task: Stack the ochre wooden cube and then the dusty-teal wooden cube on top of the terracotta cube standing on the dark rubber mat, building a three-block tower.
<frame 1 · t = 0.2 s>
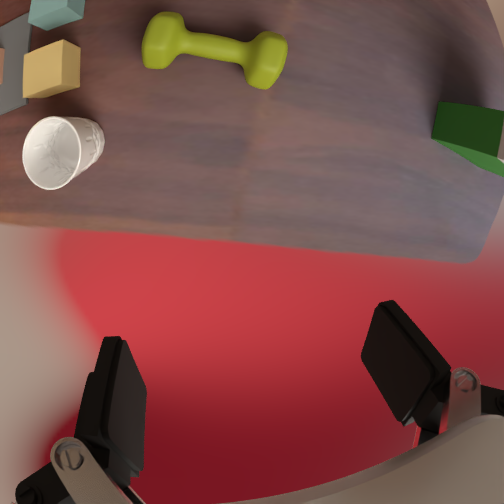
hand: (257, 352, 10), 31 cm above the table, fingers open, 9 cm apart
block ochre: (61, 72, 26), on the table
block teal: (66, 8, 21), on the table
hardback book: (461, 136, 40), on the table
dumbbell: (212, 53, 30), on the table
white cup: (83, 142, 31), on the table
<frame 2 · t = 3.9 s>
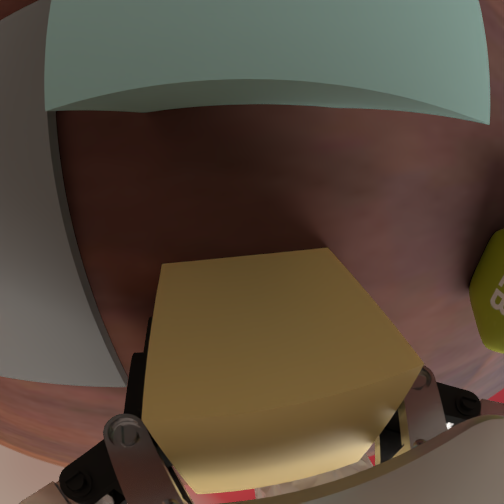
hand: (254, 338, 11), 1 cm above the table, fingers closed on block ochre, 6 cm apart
block ochre: (249, 321, 11), on the table, touching gripper
block teal: (242, 17, 6), on the table
white cup: (295, 427, 17), on the table
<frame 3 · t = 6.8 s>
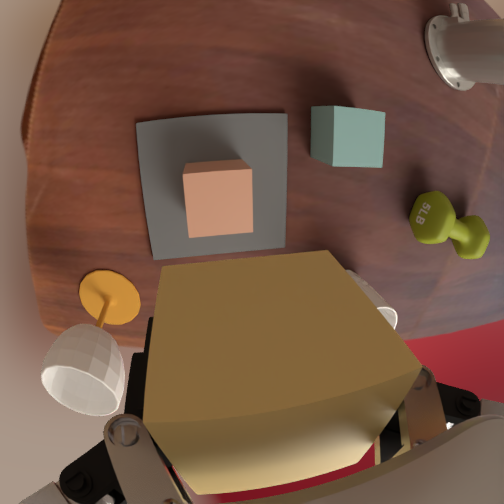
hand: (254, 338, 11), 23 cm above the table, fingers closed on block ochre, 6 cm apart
block ochre: (249, 323, 11), point 22 cm above the table, touching gripper
mat: (215, 186, 31), on the table
block teal: (334, 132, 30), on the table
wine glass: (109, 297, 35), on the table
dumbbell: (438, 219, 39), on the table
white cup: (339, 288, 41), on the table
block terracotta: (215, 187, 30), point 1 cm above the table, touching mat
when the fingers open (9 cm above the table, at t = 9.8 s): block ochre drops 1 cm, resting on block terracotta.
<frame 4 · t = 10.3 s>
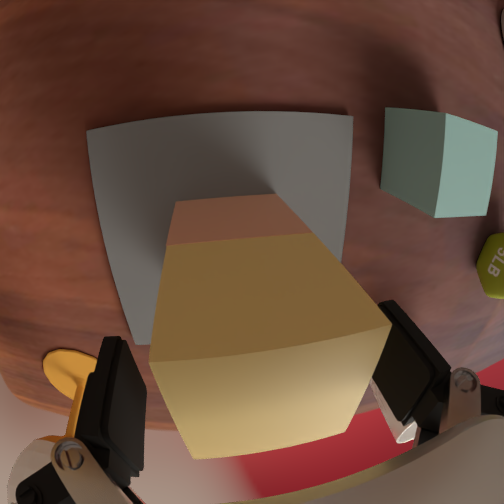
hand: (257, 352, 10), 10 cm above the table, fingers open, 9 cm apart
block ochre: (244, 299, 13), point 7 cm above the table, touching block terracotta
mat: (228, 239, 19), on the table
block teal: (413, 151, 18), on the table
wine glass: (83, 378, 23), on the table
dumbbell: (500, 259, 27), on the table
white cup: (387, 354, 29), on the table
block terracotta: (229, 243, 18), point 1 cm above the table, touching block ochre, mat
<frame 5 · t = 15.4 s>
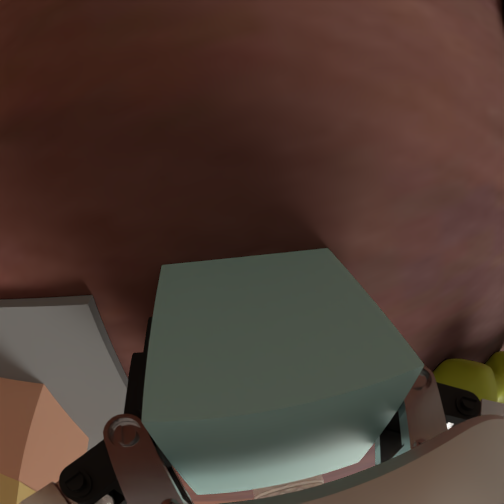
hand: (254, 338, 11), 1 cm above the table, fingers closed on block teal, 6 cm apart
block ochre: (14, 487, 6), point 7 cm above the table, touching block terracotta
mat: (34, 402, 12), on the table
block teal: (249, 322, 11), on the table, touching gripper
dumbbell: (464, 367, 20), on the table
white cup: (283, 472, 22), on the table
block terracotta: (32, 409, 11), point 1 cm above the table, touching block ochre, mat
when the fingers open (15 cm above the table, at t = 21.2 s): block teal drops 2 cm, resting on block ochre.
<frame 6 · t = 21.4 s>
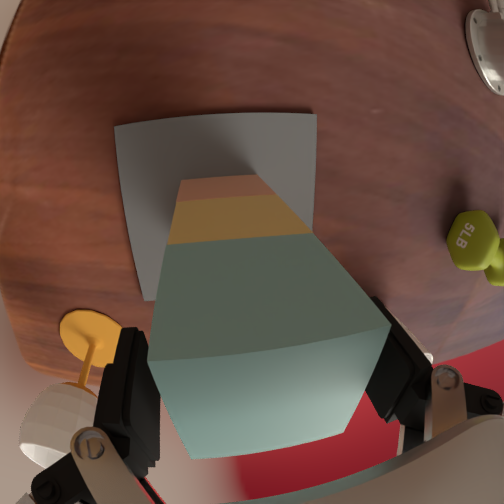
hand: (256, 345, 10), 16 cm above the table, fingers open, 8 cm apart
block ochre: (229, 243, 18), point 7 cm above the table, touching block teal, block terracotta
mat: (220, 210, 24), on the table
block teal: (243, 299, 13), point 13 cm above the table, touching block ochre
wine glass: (95, 339, 28), on the table
dumbbell: (472, 240, 32), on the table
block terracotta: (221, 212, 23), point 1 cm above the table, touching block ochre, mat
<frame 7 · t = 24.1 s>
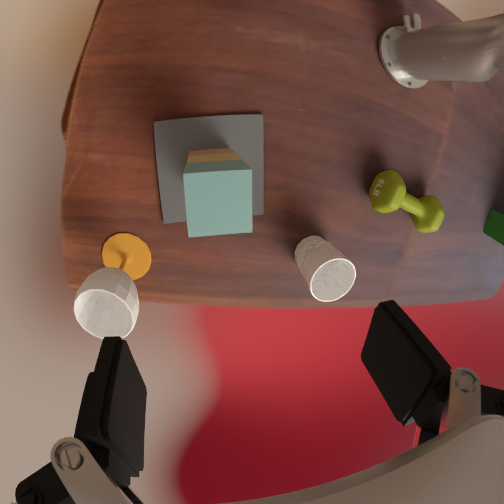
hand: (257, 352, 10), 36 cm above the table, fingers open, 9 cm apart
block ochre: (213, 177, 36), point 7 cm above the table, touching block teal, block terracotta
mat: (210, 168, 42), on the table
block teal: (215, 187, 31), point 13 cm above the table, touching block ochre
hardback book: (498, 225, 60), on the table
wine glass: (126, 256, 46), on the table
dumbbell: (397, 197, 50), on the table
white cup: (311, 251, 52), on the table
block terracotta: (210, 168, 41), point 1 cm above the table, touching block ochre, mat
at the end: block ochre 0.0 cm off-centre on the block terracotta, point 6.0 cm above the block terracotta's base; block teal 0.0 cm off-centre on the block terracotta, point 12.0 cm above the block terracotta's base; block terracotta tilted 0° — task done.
